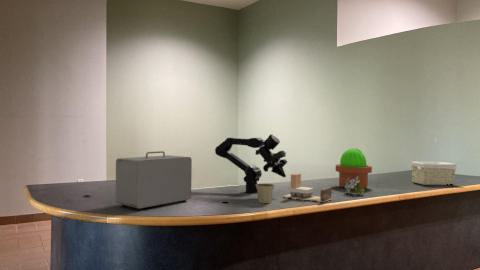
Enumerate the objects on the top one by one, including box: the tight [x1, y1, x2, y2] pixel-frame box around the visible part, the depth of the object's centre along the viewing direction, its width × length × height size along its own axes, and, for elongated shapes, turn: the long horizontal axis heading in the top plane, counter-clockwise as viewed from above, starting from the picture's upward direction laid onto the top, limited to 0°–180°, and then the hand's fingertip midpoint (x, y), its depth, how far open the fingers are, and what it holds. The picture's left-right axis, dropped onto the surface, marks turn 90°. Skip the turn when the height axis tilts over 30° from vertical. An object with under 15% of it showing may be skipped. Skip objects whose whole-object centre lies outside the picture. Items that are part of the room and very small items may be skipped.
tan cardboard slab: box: [282, 186, 333, 203], centre depth 195 cm, size 23×10×6 cm, turn 56°
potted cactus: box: [335, 148, 373, 190], centre depth 237 cm, size 22×22×25 cm
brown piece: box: [289, 173, 315, 198], centre depth 196 cm, size 10×8×11 cm
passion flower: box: [344, 177, 368, 196], centre depth 211 cm, size 11×11×12 cm
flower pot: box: [256, 183, 276, 204], centre depth 184 cm, size 9×9×9 cm
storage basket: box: [410, 161, 457, 186], centre depth 256 cm, size 24×16×15 cm
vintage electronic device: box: [115, 150, 193, 212], centre depth 178 cm, size 32×18×25 cm, turn 141°
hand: (285, 176), depth 202 cm, fingers closed
